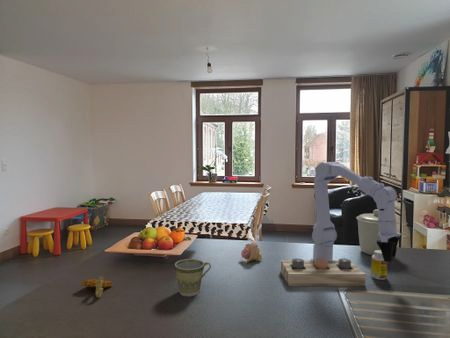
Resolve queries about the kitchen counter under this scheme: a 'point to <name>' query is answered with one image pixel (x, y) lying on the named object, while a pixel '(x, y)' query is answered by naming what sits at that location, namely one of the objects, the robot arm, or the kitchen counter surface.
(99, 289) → the ornament
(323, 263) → the knob middle
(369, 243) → the canister
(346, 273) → the mount
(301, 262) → the knob
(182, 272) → the ceramic cup
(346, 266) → the knob
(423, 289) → the kitchen counter surface
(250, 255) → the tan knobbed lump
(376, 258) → the supplement bottle
